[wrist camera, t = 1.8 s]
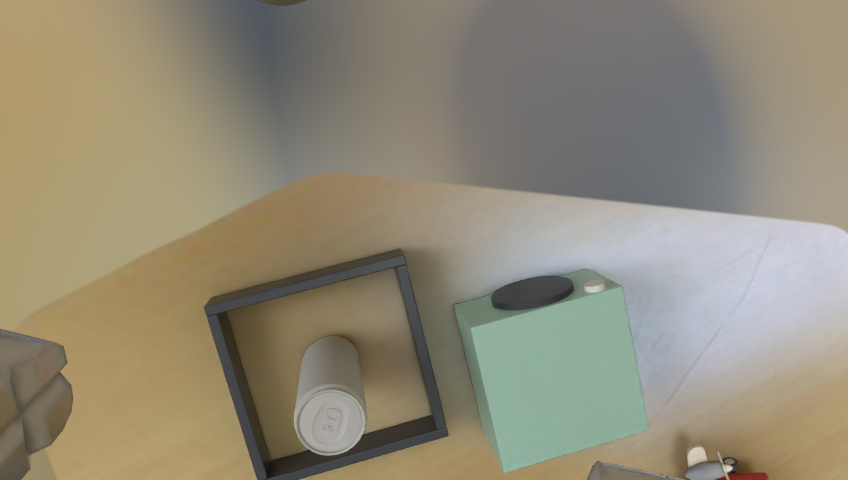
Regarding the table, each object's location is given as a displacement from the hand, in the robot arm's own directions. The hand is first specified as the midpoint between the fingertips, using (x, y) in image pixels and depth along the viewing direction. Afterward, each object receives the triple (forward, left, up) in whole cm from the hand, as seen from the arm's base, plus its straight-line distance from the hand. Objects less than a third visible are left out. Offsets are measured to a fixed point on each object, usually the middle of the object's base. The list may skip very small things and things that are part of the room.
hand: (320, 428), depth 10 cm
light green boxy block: (+17, +13, -43) cm, 48 cm away
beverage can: (+13, -4, -43) cm, 45 cm away
